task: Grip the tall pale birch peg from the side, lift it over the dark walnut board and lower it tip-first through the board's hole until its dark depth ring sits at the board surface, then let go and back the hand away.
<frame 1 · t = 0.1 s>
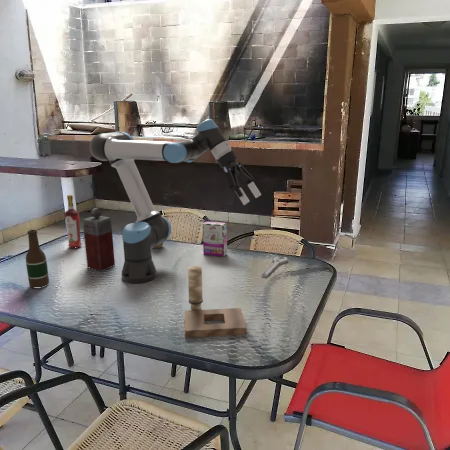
hand: (253, 199, 173), 36 cm above the table, tool tilted 35°, fingers open, 13 cm apart
candy bar box: (215, 254, 216), on the table
beer bottle: (39, 285, 181), on the table
red square decanter: (99, 266, 202), on the table
squeeze bottle: (156, 247, 228), on the table
birch peg: (195, 308, 160), on the table
liquor: (75, 247, 229), on the table
adjustable wrench: (272, 268, 199), on the table
walnut board: (214, 325, 148), on the table
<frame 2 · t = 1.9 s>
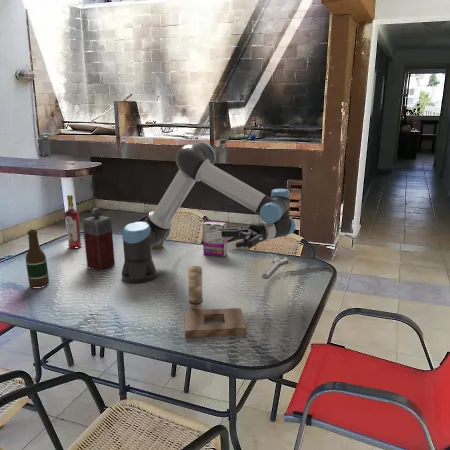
hand: (216, 241, 159), 24 cm above the table, tool horizontal, fingers open, 13 cm apart
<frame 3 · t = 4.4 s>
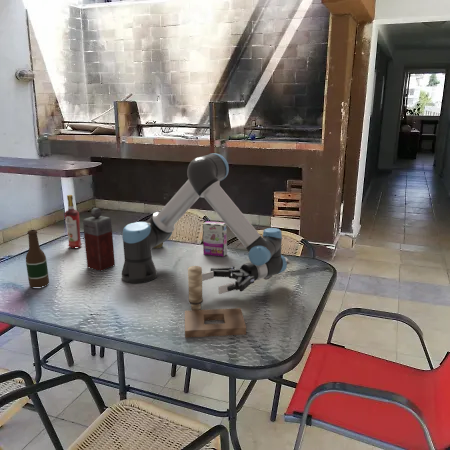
hand: (208, 284, 160), 9 cm above the table, tool horizontal, fingers open, 13 cm apart
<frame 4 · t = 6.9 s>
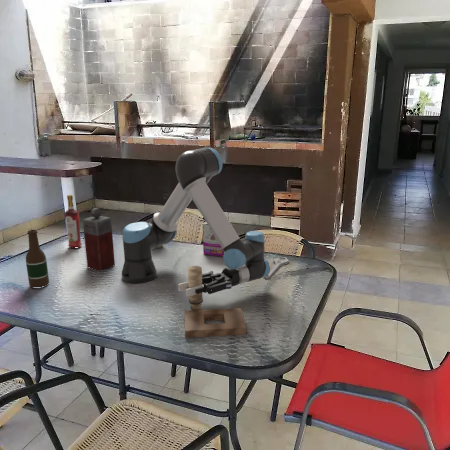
hand: (182, 290, 155), 9 cm above the table, tool horizontal, fingers closed on birch peg, 5 cm apart
birch peg: (195, 308, 160), on the table, touching gripper
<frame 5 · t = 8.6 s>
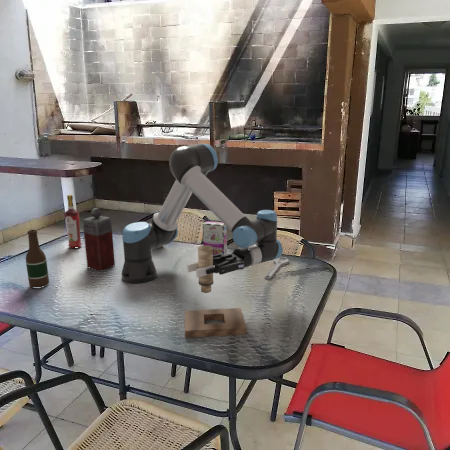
hand: (192, 270, 146), 19 cm above the table, tool horizontal, fingers closed on birch peg, 5 cm apart
birch peg: (206, 290, 151), point 10 cm above the table, touching gripper
when the fingers open (9 cm above the table, at t = 10.8 s): birch peg stays where it is, resting in walnut board.
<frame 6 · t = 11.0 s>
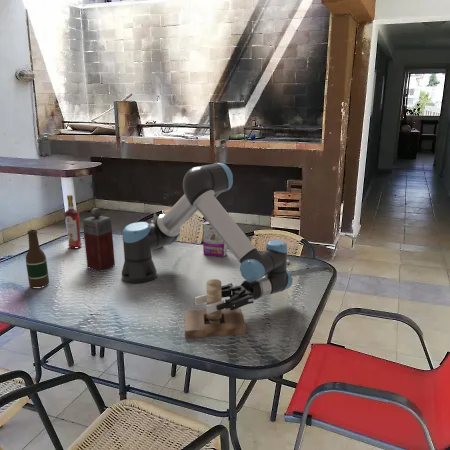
hand: (201, 305, 143), 9 cm above the table, tool horizontal, fingers open, 7 cm apart
birch peg: (214, 325, 148), resting in walnut board
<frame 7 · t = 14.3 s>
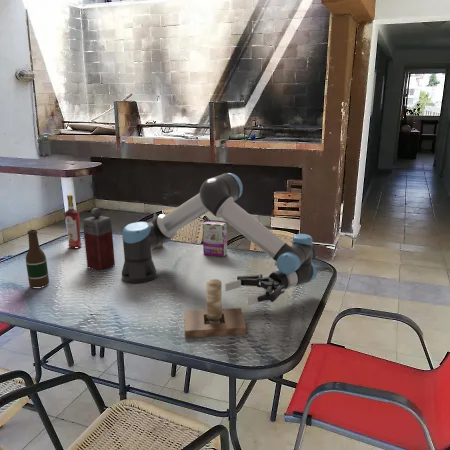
hand: (236, 294, 151), 9 cm above the table, tool horizontal, fingers open, 13 cm apart
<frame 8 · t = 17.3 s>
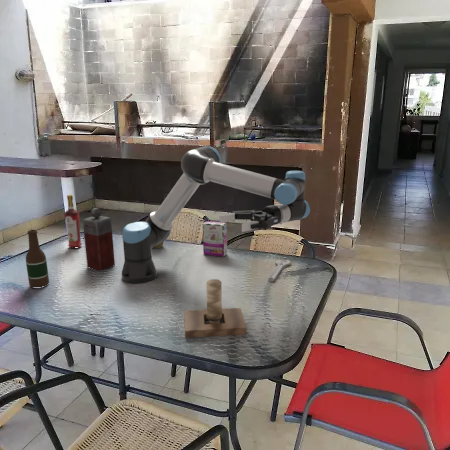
hand: (230, 223, 153), 32 cm above the table, tool horizontal, fingers open, 13 cm apart
at the end: birch peg 0.0 cm off-centre on the walnut board, point 0.0 cm above the walnut board's base; birch peg tilted 0°; the gripper is holding nothing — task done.
